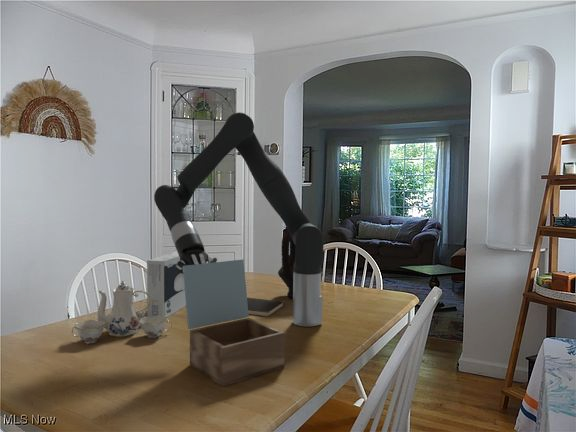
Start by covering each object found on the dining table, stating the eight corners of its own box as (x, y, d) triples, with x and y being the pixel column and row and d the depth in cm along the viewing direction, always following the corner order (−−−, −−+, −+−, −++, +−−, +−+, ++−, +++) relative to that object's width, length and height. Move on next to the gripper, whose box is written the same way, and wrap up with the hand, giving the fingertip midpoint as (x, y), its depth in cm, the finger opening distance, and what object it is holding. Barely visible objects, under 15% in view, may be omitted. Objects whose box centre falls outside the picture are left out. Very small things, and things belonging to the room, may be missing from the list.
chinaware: (71, 355, 125) (69, 298, 123) (72, 331, 141) (71, 279, 138) (174, 343, 137) (175, 290, 134) (165, 322, 152) (166, 273, 149)
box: (189, 364, 116) (189, 330, 115) (248, 349, 127) (248, 317, 127) (222, 386, 103) (222, 348, 103) (284, 367, 115) (284, 332, 114)
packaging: (163, 319, 155) (163, 261, 153) (147, 318, 156) (146, 260, 155) (198, 298, 184) (198, 249, 183) (184, 297, 186) (184, 248, 184)
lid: (189, 329, 115) (187, 328, 116) (248, 316, 126) (246, 316, 127) (184, 265, 116) (182, 265, 117) (243, 259, 128) (241, 259, 129)
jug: (294, 289, 203) (295, 222, 201) (330, 295, 192) (332, 224, 190) (265, 298, 186) (265, 225, 184) (302, 305, 175) (303, 228, 173)
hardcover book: (267, 318, 160) (267, 311, 160) (210, 310, 168) (210, 304, 168) (283, 307, 175) (283, 301, 175) (230, 300, 183) (230, 295, 183)
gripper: (169, 233, 128) (189, 283, 119) (211, 231, 136) (232, 278, 128) (161, 249, 132) (180, 299, 124) (202, 246, 141) (222, 293, 132)
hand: (207, 288), depth 126 cm, fingers closed
